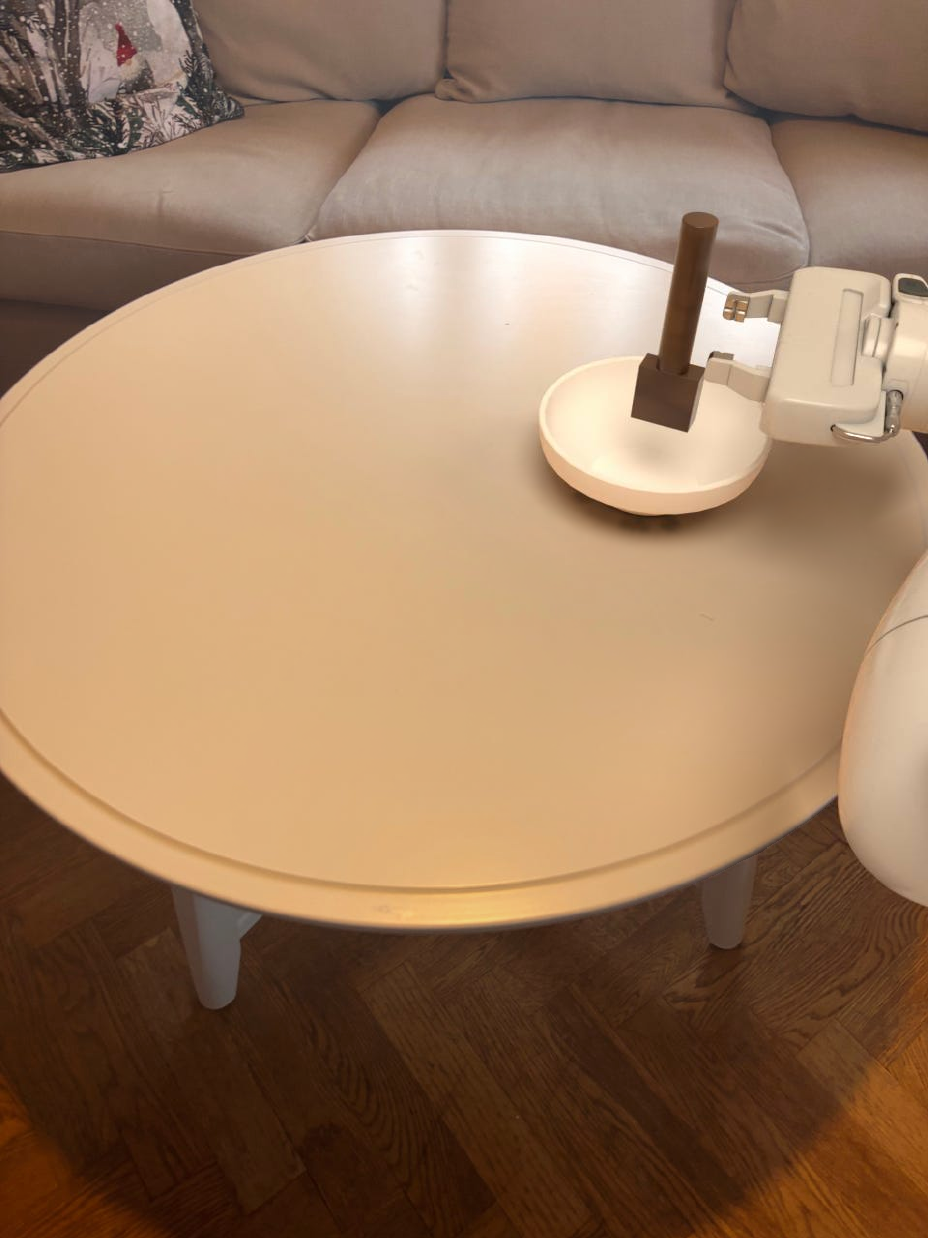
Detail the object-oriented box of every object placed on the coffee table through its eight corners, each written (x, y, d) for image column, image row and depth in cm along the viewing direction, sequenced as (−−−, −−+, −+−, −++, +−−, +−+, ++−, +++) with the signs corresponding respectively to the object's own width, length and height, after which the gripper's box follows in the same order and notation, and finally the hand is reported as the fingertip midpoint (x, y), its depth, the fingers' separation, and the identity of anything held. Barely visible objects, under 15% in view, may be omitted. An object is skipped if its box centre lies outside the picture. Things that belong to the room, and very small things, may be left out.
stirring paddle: (696, 418, 82) (740, 218, 69) (686, 434, 80) (730, 233, 68) (639, 402, 83) (672, 204, 71) (629, 418, 81) (661, 219, 69)
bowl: (585, 399, 96) (593, 334, 91) (780, 458, 90) (800, 392, 84) (495, 512, 84) (498, 444, 79) (712, 589, 78) (731, 521, 73)
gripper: (884, 483, 67) (685, 443, 70) (893, 337, 81) (726, 308, 84) (915, 406, 63) (701, 367, 66) (920, 264, 76) (742, 237, 79)
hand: (715, 333), depth 75 cm, fingers open, 8 cm apart
